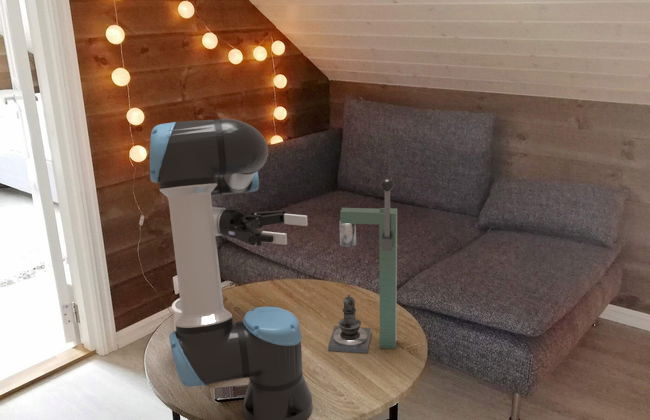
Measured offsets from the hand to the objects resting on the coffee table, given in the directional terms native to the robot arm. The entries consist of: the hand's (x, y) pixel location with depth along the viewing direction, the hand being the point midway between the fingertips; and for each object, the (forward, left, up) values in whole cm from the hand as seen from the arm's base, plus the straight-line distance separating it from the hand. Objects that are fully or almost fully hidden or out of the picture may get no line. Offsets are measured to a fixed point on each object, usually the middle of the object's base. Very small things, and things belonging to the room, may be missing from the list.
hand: (297, 229), depth 148 cm
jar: (-14, +24, -30) cm, 41 cm away
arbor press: (-3, -17, -30) cm, 35 cm away
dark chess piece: (-3, -14, -28) cm, 32 cm away
